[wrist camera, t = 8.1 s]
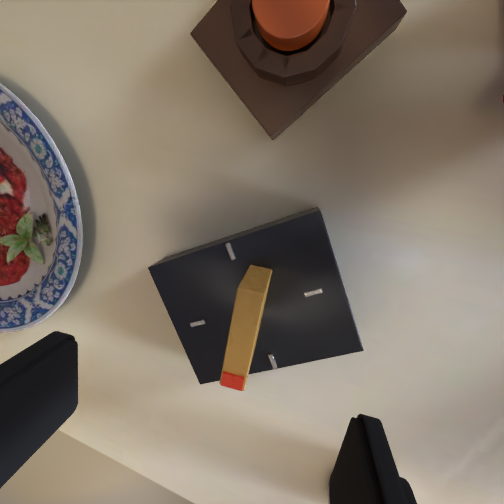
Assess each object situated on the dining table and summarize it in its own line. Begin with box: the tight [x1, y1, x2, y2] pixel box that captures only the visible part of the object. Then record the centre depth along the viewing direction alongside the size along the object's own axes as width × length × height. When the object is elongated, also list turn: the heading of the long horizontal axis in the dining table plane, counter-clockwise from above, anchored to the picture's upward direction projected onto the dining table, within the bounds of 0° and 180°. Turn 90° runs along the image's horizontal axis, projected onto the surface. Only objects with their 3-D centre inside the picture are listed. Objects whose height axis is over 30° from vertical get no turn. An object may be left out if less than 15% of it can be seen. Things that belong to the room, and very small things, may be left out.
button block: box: [190, 0, 407, 140], centre depth 19 cm, size 11×9×4 cm
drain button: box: [252, 0, 330, 51], centre depth 16 cm, size 4×4×2 cm
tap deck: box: [148, 207, 363, 384], centre depth 24 cm, size 15×12×3 cm
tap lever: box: [220, 265, 272, 391], centre depth 21 cm, size 8×2×5 cm, turn 169°
